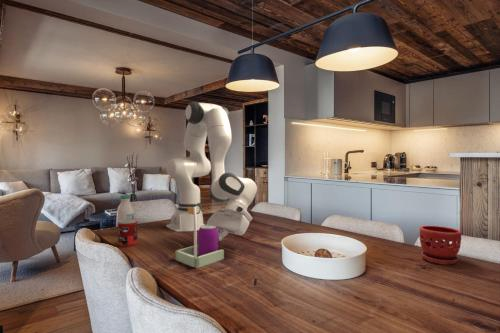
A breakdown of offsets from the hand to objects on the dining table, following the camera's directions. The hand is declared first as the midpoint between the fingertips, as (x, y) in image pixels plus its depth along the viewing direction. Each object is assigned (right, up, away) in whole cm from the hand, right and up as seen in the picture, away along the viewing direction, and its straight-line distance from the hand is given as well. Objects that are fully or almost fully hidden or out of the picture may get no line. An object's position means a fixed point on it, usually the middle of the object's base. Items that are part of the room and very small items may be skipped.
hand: (217, 239), depth 123 cm
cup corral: (-6, -6, -6) cm, 11 cm away
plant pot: (+84, -6, -9) cm, 84 cm away
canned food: (-42, -6, +15) cm, 45 cm away
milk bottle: (-50, -6, +33) cm, 61 cm away
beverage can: (-3, -6, -3) cm, 8 cm away
